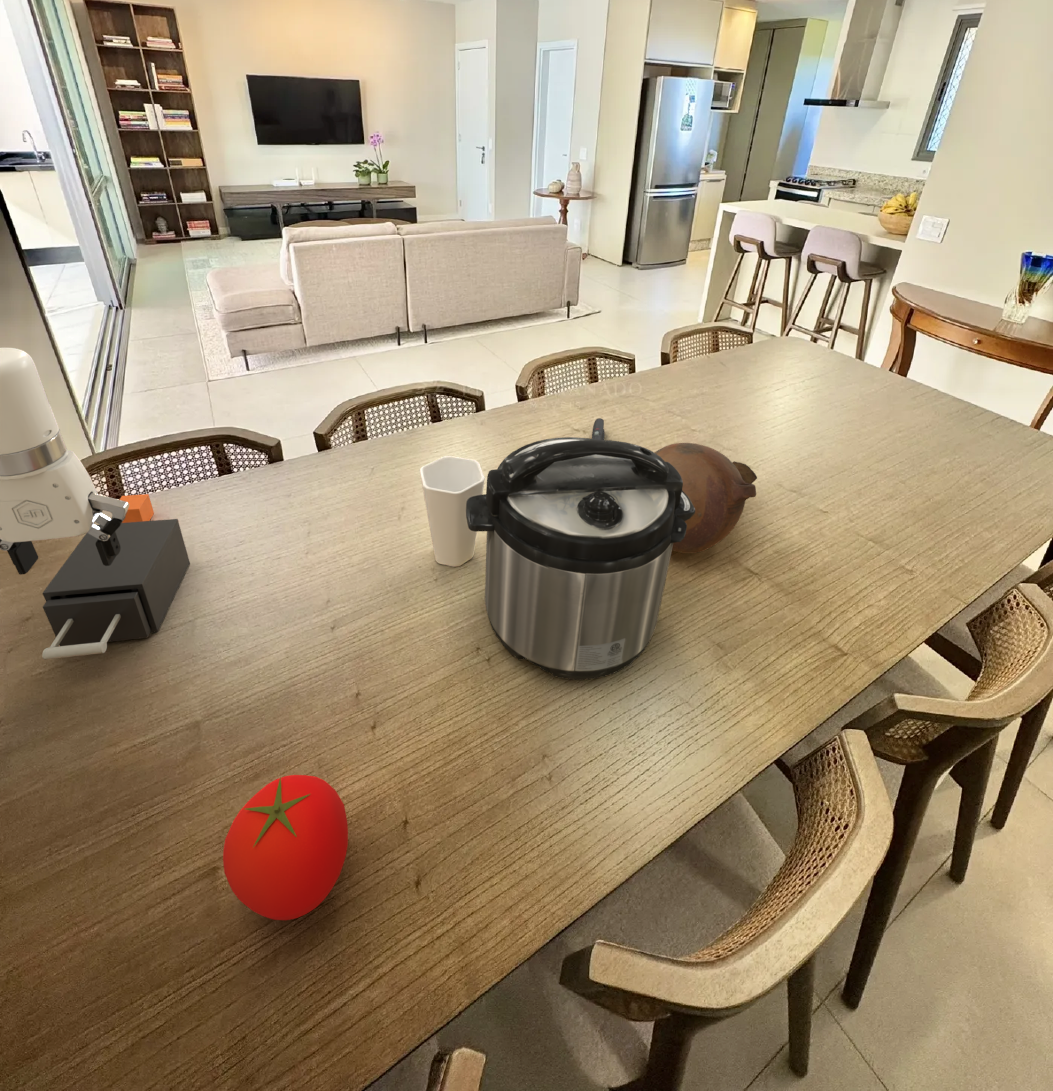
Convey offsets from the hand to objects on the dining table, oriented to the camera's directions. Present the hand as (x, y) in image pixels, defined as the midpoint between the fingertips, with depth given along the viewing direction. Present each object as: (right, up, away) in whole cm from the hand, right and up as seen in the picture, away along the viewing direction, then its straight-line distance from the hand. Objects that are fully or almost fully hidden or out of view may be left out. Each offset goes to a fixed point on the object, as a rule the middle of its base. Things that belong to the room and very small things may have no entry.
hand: (71, 562), depth 77 cm
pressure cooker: (+66, -13, +18) cm, 70 cm away
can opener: (+76, +9, +62) cm, 99 cm away
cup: (+47, -7, +29) cm, 55 cm away
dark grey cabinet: (-3, -11, +16) cm, 19 cm away
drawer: (-2, -12, +11) cm, 16 cm away
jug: (+93, -4, +38) cm, 100 cm away
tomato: (+36, -28, -16) cm, 49 cm away
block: (-13, -2, +33) cm, 35 cm away
